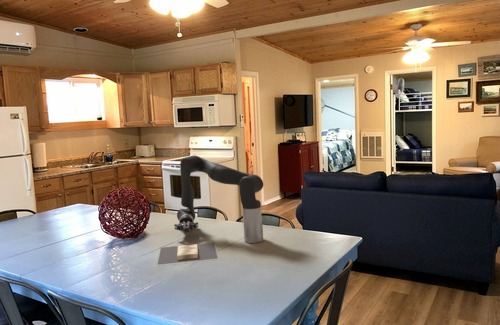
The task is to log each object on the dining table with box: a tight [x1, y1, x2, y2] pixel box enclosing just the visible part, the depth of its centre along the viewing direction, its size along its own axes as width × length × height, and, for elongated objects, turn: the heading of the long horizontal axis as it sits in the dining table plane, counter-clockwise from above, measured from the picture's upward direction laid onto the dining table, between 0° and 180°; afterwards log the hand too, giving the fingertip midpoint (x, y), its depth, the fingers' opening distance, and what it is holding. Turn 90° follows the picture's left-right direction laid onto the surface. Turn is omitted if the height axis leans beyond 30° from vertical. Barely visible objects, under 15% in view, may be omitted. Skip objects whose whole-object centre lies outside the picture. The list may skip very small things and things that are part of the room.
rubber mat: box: [156, 242, 218, 267], centre depth 186 cm, size 26×24×1 cm
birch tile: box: [177, 243, 198, 260], centre depth 184 cm, size 9×2×14 cm
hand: (186, 230), depth 200 cm, fingers closed
